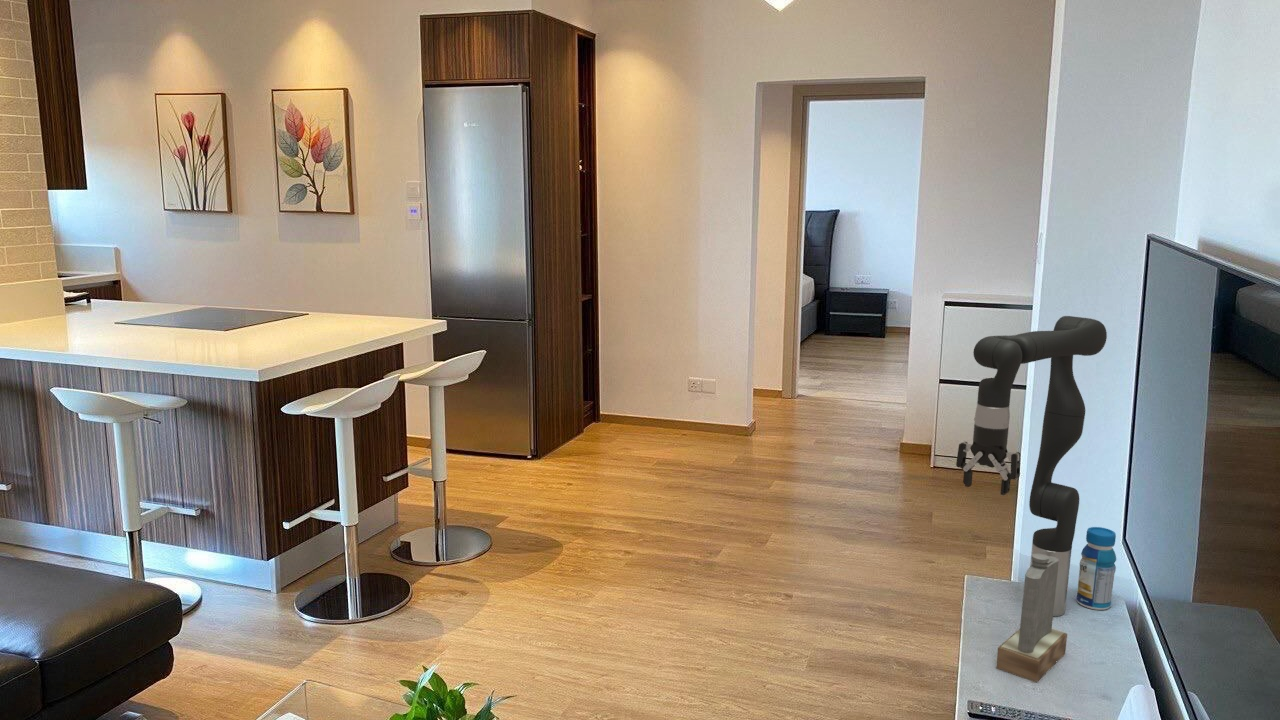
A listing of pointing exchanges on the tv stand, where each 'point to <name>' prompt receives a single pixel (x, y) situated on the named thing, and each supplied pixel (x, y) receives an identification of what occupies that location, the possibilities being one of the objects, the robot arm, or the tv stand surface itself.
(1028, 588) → the hip flask
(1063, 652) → the walnut plinth
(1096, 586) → the beverage bottle
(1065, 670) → the tv stand surface
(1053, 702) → the tv stand surface
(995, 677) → the tv stand surface
